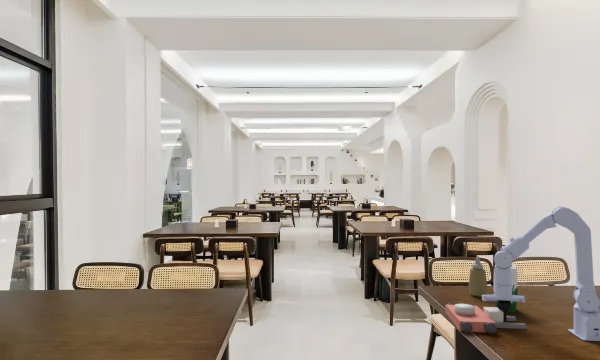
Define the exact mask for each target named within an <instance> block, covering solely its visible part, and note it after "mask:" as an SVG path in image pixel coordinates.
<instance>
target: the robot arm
mask: <svg viewBox="0 0 600 360" xmlns="http://www.w3.org/2000/svg"><path fill="white" fill-rule="evenodd" d="M556 224H557V225H559V226H561V227H563V228H566V229H567V230H569V232H571V233H572V234H573V237H574V240H573V241H574V255H575V257H574V259H575V272H576V273H575V275H576V279H575V288H574V290H573V292H572V293H573V294H572V296H573V299H574V301H576V302H575V304H574V305H572V306H573V328H572V329H571V328H570V329H569V328H568V329H567V331H568V332H570V333H571V334H573V335H574V336H576V337H577V338H579V339H580V340H582V341H589V342H592V341H593V342H600V308H599V307H600V299H599V297H598V296H597V291H596V286H595V282H594V267H593V266H594V265H593V264H594V263H593V248H592V247H593V245H592V234H591V233H592V230H591V228H590V226H589V225H588V224H587V223H586V222H585V220H583V218H582V217H581V216H580V214H579V213H578V212H576V211H574V210H573V209H571V208H568V207H564V206H557V207H555V208H554V209H553V210H552V211H549V212H548V213H547V214H545V215H544V216H543V217H541V218H540V219H539V220H537V222H536V223H535V224H534V225H533V226H532V227H530V229H528V230H527V231H526V232H525V233H524V234H523V235H522V236H520V235H519V236H514V237H513V236H512V237H511V238H510V239H509V242H508V243H507V244H505V246H503V247H502V246H501V247H500V249H499V251H497V252H495V255H494V257H493V262H494V264H495V265H494V267H495V269H494V270H495V271H494V270H493V273H494V274H493V284H494V283H495V294H494V293H492V294H485V295H482V297H481V300H482V301H483V302H495V301H496V303H497V305H498V307H499V309H500V310H501V311H502V312H503V323H507V321H506V320H507V318H506V316H508V313H509V312H508V311H509V309H510V307H511V305H512V304H511V303H510V302H517V303H526V297H525V296H524V295H518V296H517V295H512V272H511V265H513V261H515V260H517V259H518V258H520V257H521V256H522V255H523V254H524V253H526V252H527V251H528V250H529V249H530V243H531V242H532V241H533V240H535V239H536V238H537V237H538V236H539V235H541V234H542V233H544V232H545V231H546V230H547V229H551V228H557V225H556Z"/></svg>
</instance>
